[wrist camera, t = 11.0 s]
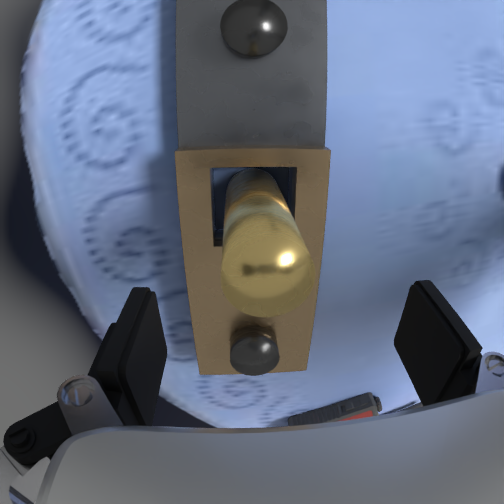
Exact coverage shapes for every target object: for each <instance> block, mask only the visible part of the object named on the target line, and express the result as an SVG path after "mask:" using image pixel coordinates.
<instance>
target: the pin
mask: <svg viewBox="0 0 504 504" xmlns="http://www.w3.org/2000/svg"><path fill="white" fill-rule="evenodd" d="M314 282H315V266H314V263H313V260H312V258H311V256H310V254H309V251H308V249H307V247H306V245H305V243H304V240H303V238H302V236H301V234H300V232H299V229H298V227H297V225H296V223H295V221H294V219H293V216H292V214H291V212H290V210H289V208H288V206H287V203H286V201H285V199H284V197H283V195H282V193H281V191H280V189H279V187H278V185H277V182H276V181H275V179H274V178H273V177H272V176H271V175H270V174H269V173H267V172H265V171H263V170H260V169H246V170H243V171H241V172H239V173H237V174H236V175H235V176H234V177H233V178H232V179H231V180H230V182H229V184H228V186H227V190H226V200H225V215H224V231H223V247H222V264H221V287H222V290H223V293H224V295H225V297H226V298H227V300H228V301H229V302H230V303H231V304H232V305H233V306H234V307H235V308H236V309H238V310H239V311H241V312H243V313H245V314H248V315H251V316H256V317H275V316H279V315H283V314H285V313H288V312H290V311H292V310H294V309H295V308H297V307H298V306H299V305H301V304H302V303H303V302H304V301H305V300H306V298H307V297H308V296H309V294H310V293H311V291H312V289H313V286H314Z"/></svg>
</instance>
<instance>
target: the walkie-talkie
mask: <svg viewBox="0 0 504 504" xmlns="http://www.w3.org/2000/svg"><path fill="white" fill-rule="evenodd" d="M418 407H423V405H422V403H421V402H420V403H417V404H415V405H413V406H410V407H408V408H405V409H403V410H400V411H404V410H409V409H414V408H418ZM380 411H382V405H381V402H380V399H379V397H375V398H373V395H372V393H370V392H368V393H365V394H362V395H359V396H356V397H353V398H351V399H348V400H344V401H341V402H338V403H336V404H332V405H330V406H327V407H323V408H320V409H316V410H312V411H310V412H309V411H308V412H306V413H302V414H299V415H295V416H291V417H290V418H289V419H288V423H289V426H298V425H310V424H320V423H329V422H337V421H345V420H352V419H359V418H366V417H372V416H378V415H379V414H378V412H380ZM398 412H399V411H398Z"/></svg>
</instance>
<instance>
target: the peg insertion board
mask: <svg viewBox="0 0 504 504" xmlns="http://www.w3.org/2000/svg"><path fill="white" fill-rule="evenodd" d="M176 100H177V127H178V149H177V150H176V151H175V164H176V179H177V192H178V205H179V216H180V227H181V237H182V247H183V256H184V265H185V274H186V282H187V290H188V298H189V306H190V313H191V320H192V328H193V334H194V341H195V348H196V354H197V360H198V367H199V373H200V375H222V374H245V375H251V376H256V375H262V374H265V373H276V372H292V371H304V370H306V369H307V363H308V356H309V350H310V344H311V337H312V330H313V323H314V316H315V309H316V301H317V294H318V286H319V278H320V269H321V260H322V251H323V241H324V231H325V221H326V209H327V197H328V184H329V170H330V154H331V150H330V149H328V148H327V147H325V130H326V101H327V1H326V0H176ZM222 167H289V191H288V208H289V210H290V212H291V214H292V216H293V219H294V221H295V223H296V225H297V227H298V229H299V232H300V234H301V236H302V238H303V240H304V243H305V245H306V247H307V249H308V251H309V254H310V256H311V258H312V260H313V263H314V266H315V282H314V286H313V289H312V291H311V293H310V294H309V296H308V297H307V298H306V300H305V301H304V302H303V303H302V304H301V305H299V306H298V307H297V308H295V309H294V310H292V311H290V312H288V313H285V314H283V315H279V316H275V317H256V316H251V315H248V314H245V313H243V312H241V311H239V310H238V309H236V308H235V307H234V306H233V305H232V304H231V303H230V302H229V301H228V300H227V298H226V297H225V295H224V293H223V290H222V287H221V264H222V247H223V231H224V230H216V228H215V207H214V183H213V168H222Z"/></svg>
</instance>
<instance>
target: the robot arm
mask: <svg viewBox="0 0 504 504" xmlns="http://www.w3.org/2000/svg"><path fill="white" fill-rule="evenodd" d="M394 346H395V348H396V350H397V352H398V354H399V356H400V358H401V360H402V362H403V365H404V367H405V369H406V371H407V373H408V375H409V377H410V379H411V381H412V383H413V385H414V388H415V390H416V392H417V394H418V396H419V398H420V401H421V403H422V405H423V407H418V408H414V409H409V410H404V411H399V412H394V413H389V414H383V415H378V416H372V417H366V418H359V419H352V420H345V421H337V422H329V423H320V424H310V425H298V426H284V427H266V428H179V427H160V426H152V423H153V418H154V413H155V408H156V403H157V399H158V394H159V389H160V385H161V380H162V376H163V371H164V367H165V362H166V358H167V346H166V342H165V337H164V333H163V328H162V323H161V318H160V314H159V309H158V304H157V298H156V294H155V292H151V291H150V288H148V287H134V288H133V289H132V290H131V292H130V294H129V297H128V299H127V301H126V303H125V305H124V307H123V309H122V311H121V314H120V316H119V318H118V320H117V322H116V323H112V324H111V325H110V326H109V328H108V330H107V333H106V335H105V337H104V339H103V341H102V343H101V346H100V348H99V350H98V353H97V355H96V357H95V359H94V362H93V364H92V366H91V368H90V371H89V373H88V375H76V376H73V377H70V378H68V379H67V380H65V381H64V382H63V383H62V384H61V386H60V387H59V389H58V392H57V399H58V401H57V402H55V403H53V404H51V405H50V406H48V407H46V408H44V409H42V410H40V411H38V412H36V413H34V414H32V415H30V416H28V417H26V418H24V419H22V420H20V421H18V422H16V423H14V424H13V425H11V426H10V427H9V428H8V430H7V431H6V433H5V435H4V441H3V442H4V445H3V446H2V447H1V448H0V504H34V503H35V504H504V355H502V354H500V353H497V352H488V353H485V354H484V355H483V356H482V355H481V353H480V352H481V350H482V346H481V345H480V344H479V342H478V341H477V340H476V338H475V337H474V335H473V334H472V333H471V331H470V330H469V329H468V327H467V326H466V325H465V323H464V322H463V321H462V319H461V318H460V317H459V315H458V314H457V313H456V312H455V310H454V309H453V308H452V306H451V305H450V304H449V303H448V301H447V300H446V299H445V298H444V296H443V295H442V294H441V293H440V292H439V290H438V289H437V288H436V287H435V285H434V284H433V283H432V282H431V281H430V280H422V281H416V282H415V283H414V285H411V287H410V290H409V293H408V297H407V300H406V303H405V307H404V310H403V313H402V316H401V320H400V323H399V326H398V329H397V332H396V335H395V338H394ZM35 501H36V502H35Z"/></svg>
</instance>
